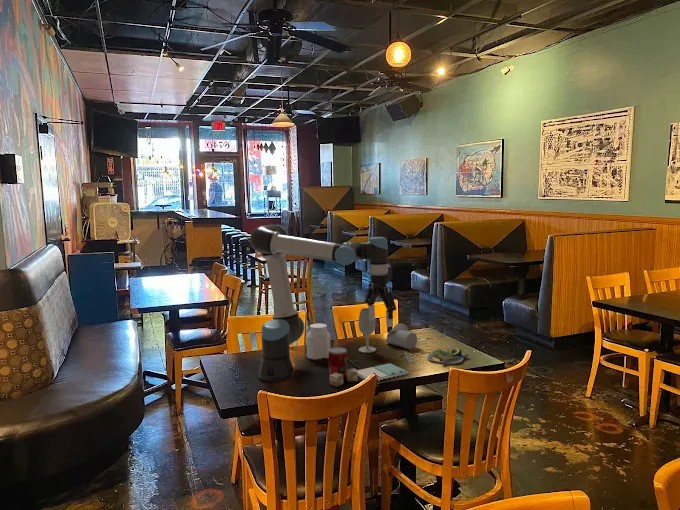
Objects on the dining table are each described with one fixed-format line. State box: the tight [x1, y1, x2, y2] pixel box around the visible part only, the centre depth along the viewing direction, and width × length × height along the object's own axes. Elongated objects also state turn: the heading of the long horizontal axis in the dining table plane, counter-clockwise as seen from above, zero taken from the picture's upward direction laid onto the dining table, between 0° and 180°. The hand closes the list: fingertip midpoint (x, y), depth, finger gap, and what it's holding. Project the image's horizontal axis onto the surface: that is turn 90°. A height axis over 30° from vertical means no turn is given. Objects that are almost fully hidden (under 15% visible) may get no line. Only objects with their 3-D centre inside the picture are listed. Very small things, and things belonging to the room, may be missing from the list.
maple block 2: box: [345, 368, 358, 382], centre depth 213 cm, size 4×4×4 cm
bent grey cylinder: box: [385, 322, 418, 350], centre depth 263 cm, size 18×11×20 cm
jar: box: [305, 323, 331, 360], centre depth 244 cm, size 12×10×15 cm
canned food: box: [328, 346, 348, 378], centre depth 219 cm, size 8×8×11 cm
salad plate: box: [426, 346, 469, 365], centre depth 237 cm, size 19×18×5 cm
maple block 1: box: [328, 373, 344, 388], centre depth 208 cm, size 4×4×4 cm
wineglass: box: [357, 307, 377, 354], centre depth 251 cm, size 9×9×21 cm
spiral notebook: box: [356, 362, 410, 382], centre depth 220 cm, size 20×14×1 cm
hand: (380, 323), depth 216 cm, fingers open, 13 cm apart
